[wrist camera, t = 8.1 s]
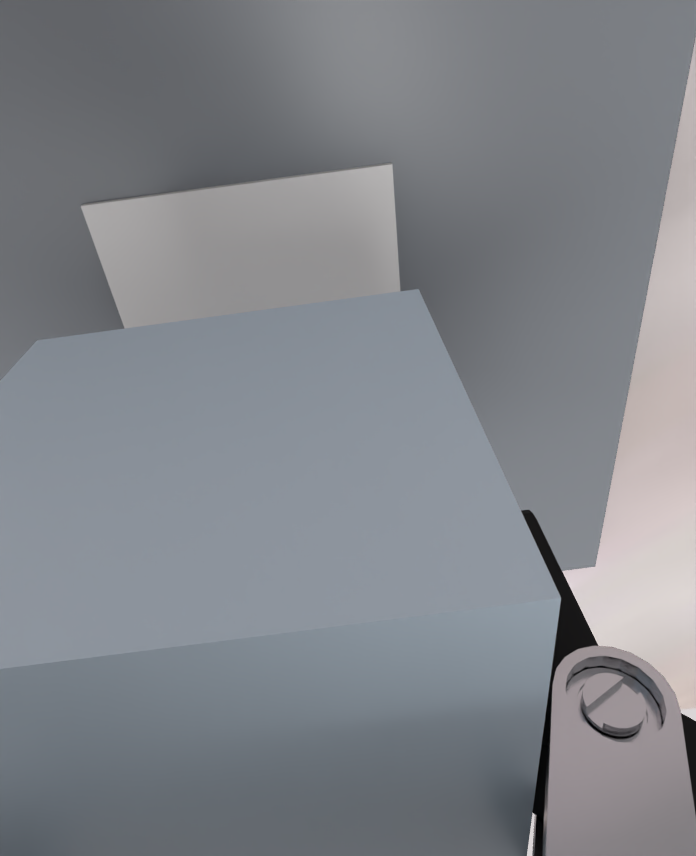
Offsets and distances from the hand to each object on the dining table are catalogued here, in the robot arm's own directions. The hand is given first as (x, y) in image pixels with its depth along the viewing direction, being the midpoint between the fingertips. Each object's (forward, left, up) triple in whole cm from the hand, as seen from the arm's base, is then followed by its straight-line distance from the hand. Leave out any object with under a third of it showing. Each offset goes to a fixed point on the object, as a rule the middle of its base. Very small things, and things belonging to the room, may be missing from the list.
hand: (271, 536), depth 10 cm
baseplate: (0, 0, -8) cm, 8 cm away
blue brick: (0, 0, -1) cm, 1 cm away
